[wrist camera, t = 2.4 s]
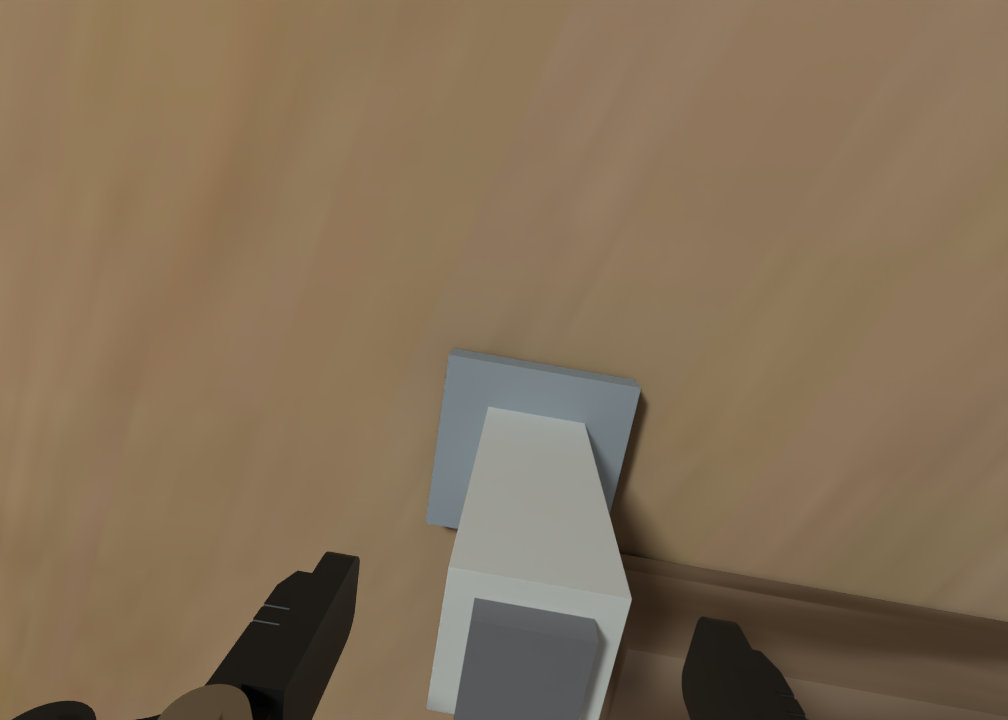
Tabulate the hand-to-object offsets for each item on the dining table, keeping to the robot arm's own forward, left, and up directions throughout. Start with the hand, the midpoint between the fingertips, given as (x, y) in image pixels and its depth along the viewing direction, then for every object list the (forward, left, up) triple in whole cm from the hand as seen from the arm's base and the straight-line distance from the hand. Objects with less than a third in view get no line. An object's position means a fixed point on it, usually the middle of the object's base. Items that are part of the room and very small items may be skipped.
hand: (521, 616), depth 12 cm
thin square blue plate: (0, 0, -9) cm, 9 cm away
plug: (0, 0, -8) cm, 8 cm away
